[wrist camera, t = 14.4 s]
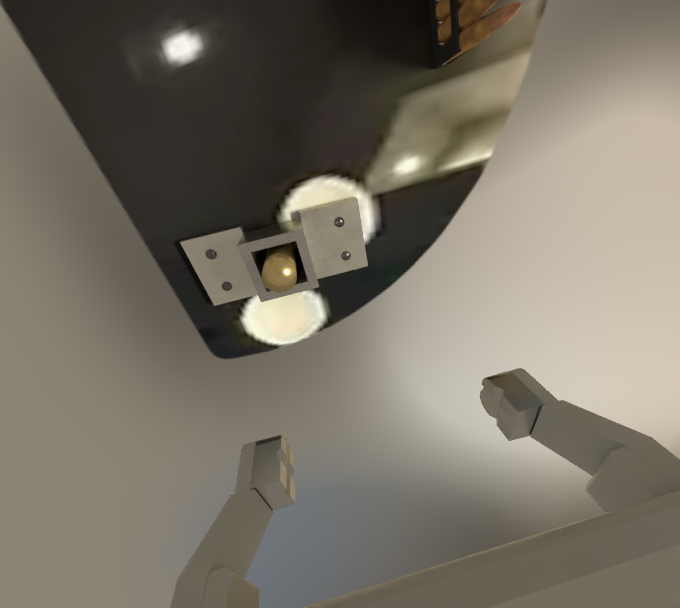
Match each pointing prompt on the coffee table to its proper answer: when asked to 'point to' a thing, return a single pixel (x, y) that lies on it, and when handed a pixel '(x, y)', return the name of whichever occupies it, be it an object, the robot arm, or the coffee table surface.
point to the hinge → (245, 247)
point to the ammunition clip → (463, 25)
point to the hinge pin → (280, 268)
